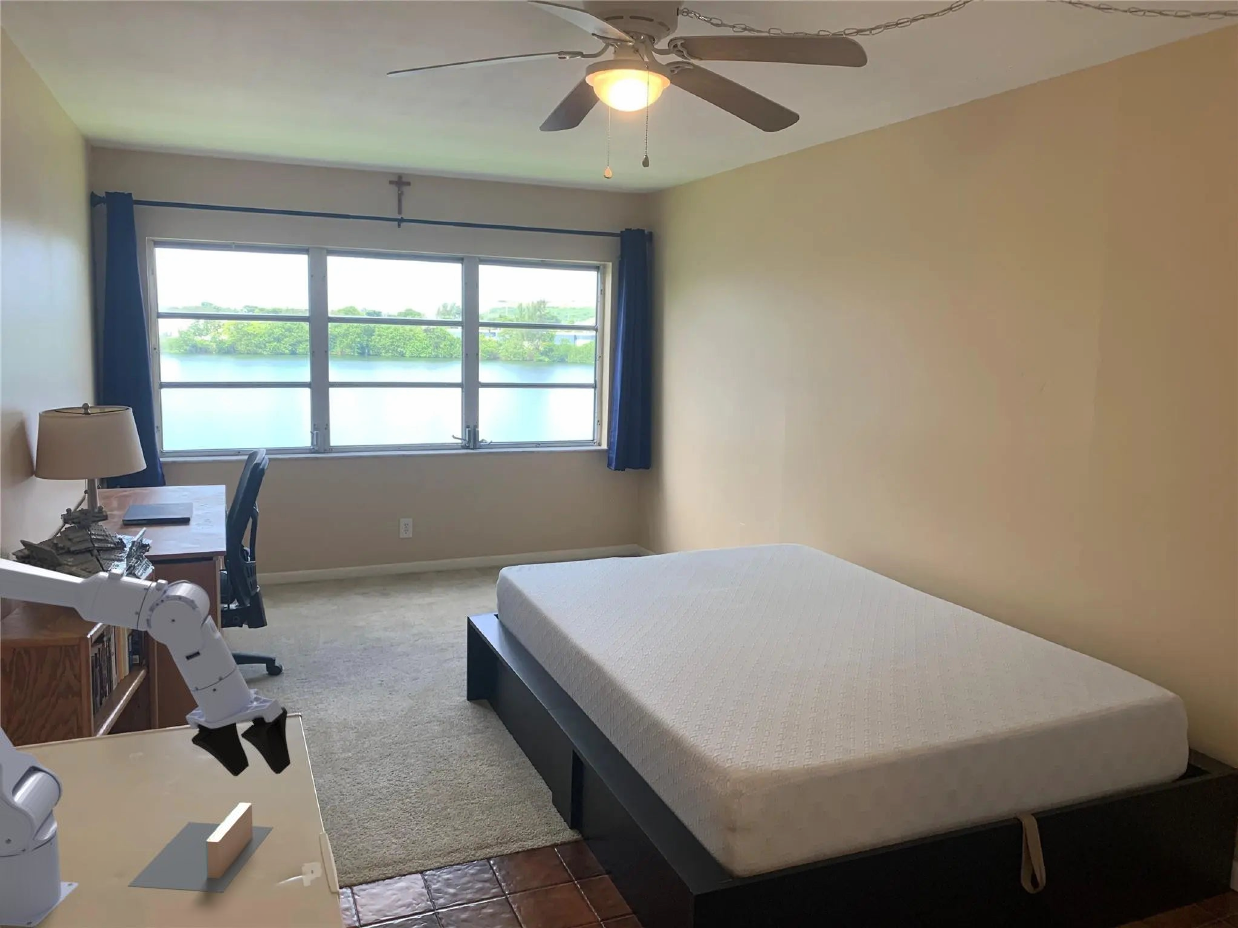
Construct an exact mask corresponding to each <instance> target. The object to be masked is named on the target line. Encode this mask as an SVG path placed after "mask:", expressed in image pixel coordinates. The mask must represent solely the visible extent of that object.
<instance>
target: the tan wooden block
mask: <svg viewBox="0 0 1238 928" xmlns="http://www.w3.org/2000/svg"><path fill="white" fill-rule="evenodd" d="M220 824H221V825H220V826H219V827H218V828H217V829H216V830H215V831H214V832H213V834H212V835H211V836H210V837H209V838H208V839H207V840H206V863H207V878H220V877H221V876H222V875H223V873H224V872H225V871H226V870H227V869H228V867H229V866H230V865H231V864H232V862H233V861H234V860H235V859H236V857H237V856H238V855H239V854H240V852H241V851H242V850H243V849H244V847H245V846H246V845H247V844H248V842H249V841H250V840H251V839H252V837H253V827H252V826H253V803H251V802H241V801H240V802H239V803H238V804H237V806H235V808H234V809H233V810H232V811H231V812H230V813H229V814H228V815H227V817H225V819H224V820H223V821H222V822H221V823H220Z"/></svg>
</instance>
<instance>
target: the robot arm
mask: <svg viewBox="0 0 1238 928" xmlns="http://www.w3.org/2000/svg"><path fill="white" fill-rule="evenodd" d="M0 598H3V599H4V598H5V599H10V600H19V601H26V602H32V603H41V604H47V605H55V606H61V607H68V608H74V609H75V610H76V611H77V612H78V614H79V615H80V617H81V618H82V619H83V620H84V621H88V622H94V623H99V624H103V625H109V626H116V627H120V628H125V629H132V630H137V631H142V632H145V631H147V633H148V634H149V635H150V636H151V638H153V639H154V640H155V641H157V642H159V643H161V644H163V645H165V646H166V647H167V649H168V650H169V653H170V655H171V656H172V659H173V661H174V663H175V665H176V667H177V668H178V671H179V672H180V675H181V676H182V679H183V681H184V682H185V684H186V686H187V687H188V690H189V691H190V693H191V695H192V697H193V699H194V700H195V703H196V704H197V706H198V707H196V708H195V709H194V710H192V711H191V712H190V713H188V714H187V715H186V716H185V719H186V721H187V723H188V724H189V727H190V728H191V729H192V730H197V729H198V730H197V734H195V735H194V736H193V737H191V742H192V744H193V745H195V746H197V747H198V748H201V749H202V750H204V751H206V752H208V754H210V755H211V756H213V757H214V758H215V759H216V760H217V761H218V762H219V763H220V764H221V765H222V766H223V767H224V769H226V770H227V771H228V772H229V773H230V774H231V775H232V776H233V777H238V776H239V775H241V773H243V772H244V771H245V770H246V769H247V768H248V767H250V765H249V760H248V756H247V754H246V751H245V749H244V747H243V745H242V742H241V739H240V737H239V733H238V728H237V723H243V722H252V724H251V725H250V726H249V727H248V728H246V730H244V731H243V732H242V733H241V734H240V736H241V738H242V739H244V740H245V741H247V742H248V743H249V744H250V745H252V746H253V747H254V748H255V749H256V751H258V753H259V754H261V756H262V758H263V759H264V761H265V762H266V763H267V765H268V767H269V769H270V770H271V771H272V772H273V773H274V774H276V775H279V774H281V773H282V772H283V771H284V770H285V769H287V767H288V766H290V765H291V759H290V754H289V752H290V751H289V748H288V741H287V733H286V732H287V731H286V730H287V717H288V710H287V708H286V707H284V706H283V707H282V706H280V704H279V702H278V700H277V698H266V697H264V696H260V692H259V689H258V688H253V689H251V688H249V686H248V684H247V682H246V680H245V679H244V677H243V674H242V673H241V671H240V668H239V667H238V665H237V662H236V661H235V659H234V657H233V654H232V653H231V651H230V649H229V647H228V646H227V645H228V644H227V643H226V641H225V639H224V637H223V636H222V633H221V632H220V630H219V629H218V627H217V626H216V623H215V622H214V619H213V618H212V615H208V614H209V610H210V607H211V606H210V605H211V604H210V603H211V602H210V597H209V595H208V593H207V592H206V590H205V589H203V588H202V587H201V586H200V585H198V584H196V583H193V582H190V581H189V580H186V579H184V580H183V579H181V580H177V581H174V582H171V583H170V584H169V582H168V580H164V579H158V580H157V582H156V581H151V580H146V579H141V578H135V577H132V576H126V575H125V570H122V569H117V568H112V569H111V570H110V571H108V572H106V571H99V572H97V573H95V574H92V575H91V576H90V577H88V578H83V577H78V576H74V575H71V574H67V573H62V572H60V571H59V572H58V571H54V570H50V569H47V568H42V567H37V566H33V565H30V564H26V563H21V562H17V561H14V560H9V559H4V558H2V557H0ZM63 787H64V786H63V783H62V780H61V779H60V777H59V775H57V774H56V772H54V771H52V770H50V769H49V768H47V767H45V766H44V765H42V764H41V763H40V762H39V761H38V760H37V757H36V756H35V755H34V753H29V752H24V751H23V752H22V751H19V750H17V749H16V748H15V747H14V744H13V743H12V742H11V740H10V739H9V737H8V736H7V734H6V733H5V731H4V729H3V728H2V727H1V726H0V926H11V927H26V928H32V927H36V926H37V925H39V923H41V922H42V920H44V919H45V918H46V917H47V916H48V915H49V914H50V913H51V912H52V911H53V910H54V909H55V908H57V906H58V905H60V904H61V902H62V901H64V899H66V898H67V897H68V896H69V895H70V894H71V893H72V892H73V891H74V890H75V889H76V888H77V887H78V886H79V885H80V883H78V882H72V881H71V882H70V881H62V875H61V864H60V850H59V849H60V848H59V834H58V822H57V821H56V818H55V817H54V808H55V807H56V806H57V805H58V804H59V802H60V800H61V798H62V796H63V791H64V790H63V789H64V788H63ZM28 923H29V924H28Z"/></svg>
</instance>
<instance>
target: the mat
mask: <svg viewBox="0 0 1238 928" xmlns="http://www.w3.org/2000/svg"><path fill="white" fill-rule="evenodd" d="M220 825H221V823H207V822H195V821H194V822H193V821H192V822H191V821H189V822H187V824H185V826H183V828H182V829H181V830H180V831H179V832H178V833H176V835H175V836H174V837H173V838H172V839H171V840H170V841H169V843H167V845H165V847H164V848H163V849H162V850H160V852H159V853H158V854H157V855H156V856H155V857H154V858H153V859H152V860H151V861H150V862H149V863H148V864H147V865H146V866H145V867H144V868H143V869H142V871H140V873H138V874H137V875H136V877H134V879H133V880H131V882H130V883H129V884H128V885H127V886H128V887H134V888H136V887H138V888H149V889H165V890H180V891H195V892H196V891H197V892H209V893H211V892H213V893H224V892H225V890H226V889H227V888H228V887H229V885H230V884H231V883H232V881H233V880H234V879H235V878H236V876H237V875H238V874H239V872H240V871H241V870H242V868H243V867H244V866H245V865H246V863H247V862H248V861H249V859H250V858H252V855H253V854H254V853H255V852H256V850H257V849H258V848H259V847H260V846H261V844H262V842H263V841H265V839H266V838H267V836H268V835H269V834H270V832H271V831H272V829H274V827H271V826H256V825H252V827H253V837H252V839H251V840H250V841H249V842H248V844H247V845H246V846H245V847H244V849H243V850H242V851H241V852H240V854H239V855H238V856H237V857H236V859H235V860H234V861H233V862H232V864H231V865H230V866H229V867H228V869H227V870H226V871H225V872H224V873H223V875H222V876H221V877H220V878H207V863H206V840H207V839H208V838H209V837H210V836H211V835H212V834H213V832H214V831H215V830H216V829H217V828H218V827H219V826H220Z"/></svg>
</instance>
